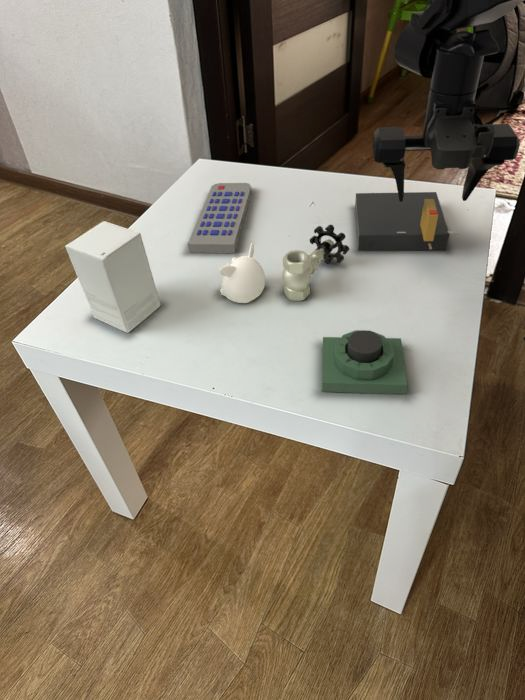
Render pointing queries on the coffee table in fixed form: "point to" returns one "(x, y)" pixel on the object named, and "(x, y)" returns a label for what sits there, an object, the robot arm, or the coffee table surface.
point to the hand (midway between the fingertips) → (432, 200)
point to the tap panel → (397, 222)
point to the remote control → (221, 219)
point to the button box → (363, 368)
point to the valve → (310, 262)
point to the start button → (364, 346)
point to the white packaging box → (115, 275)
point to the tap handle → (429, 219)
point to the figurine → (242, 278)
